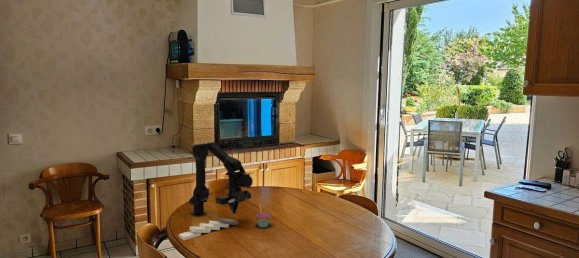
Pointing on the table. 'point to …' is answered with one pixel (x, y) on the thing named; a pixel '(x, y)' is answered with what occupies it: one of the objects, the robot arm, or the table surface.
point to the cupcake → (263, 218)
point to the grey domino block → (228, 221)
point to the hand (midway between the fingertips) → (233, 213)
